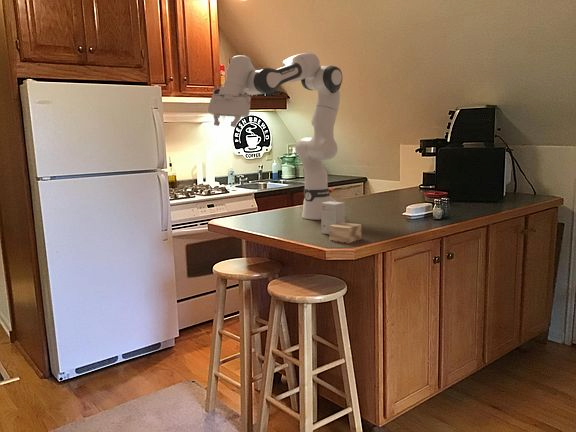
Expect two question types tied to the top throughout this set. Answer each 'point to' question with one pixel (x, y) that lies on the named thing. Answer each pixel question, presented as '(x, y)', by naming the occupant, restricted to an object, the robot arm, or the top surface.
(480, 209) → the top surface
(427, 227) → the top surface
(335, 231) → the maple block
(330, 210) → the small box
